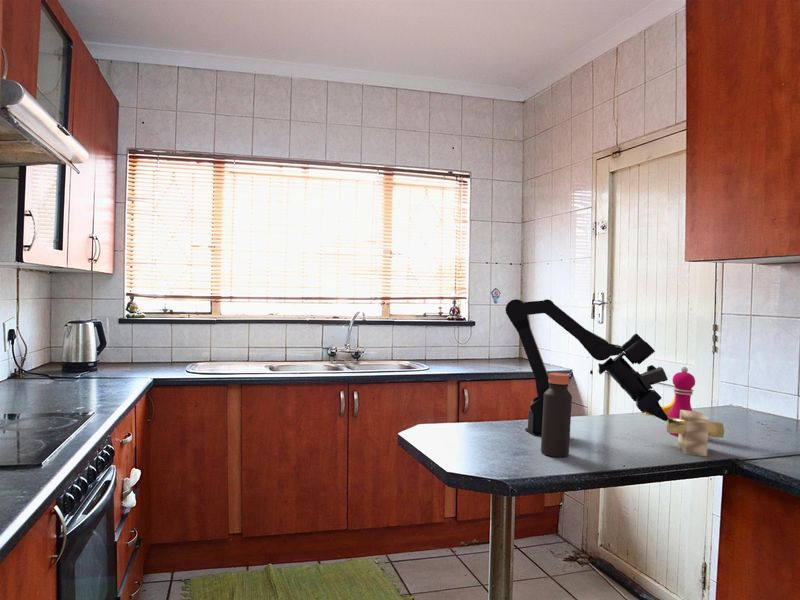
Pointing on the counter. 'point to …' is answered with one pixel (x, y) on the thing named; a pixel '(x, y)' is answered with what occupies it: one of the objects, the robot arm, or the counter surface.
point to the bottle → (556, 416)
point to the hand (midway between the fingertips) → (667, 420)
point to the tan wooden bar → (679, 427)
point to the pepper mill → (682, 393)
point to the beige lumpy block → (694, 433)
